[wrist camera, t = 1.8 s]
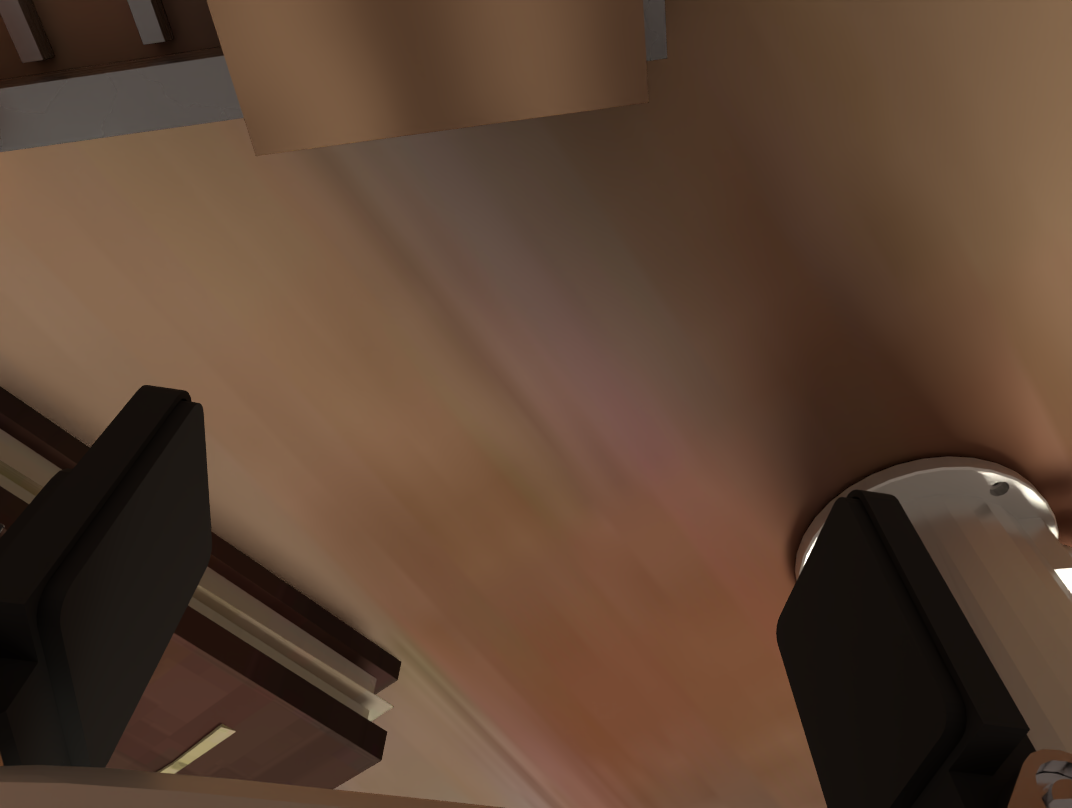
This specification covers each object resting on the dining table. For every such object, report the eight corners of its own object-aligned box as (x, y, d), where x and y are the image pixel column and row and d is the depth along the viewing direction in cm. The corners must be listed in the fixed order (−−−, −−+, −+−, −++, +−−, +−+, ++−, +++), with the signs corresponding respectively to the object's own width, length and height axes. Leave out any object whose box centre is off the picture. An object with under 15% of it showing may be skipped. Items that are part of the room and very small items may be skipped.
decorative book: (209, 909, 48) (-331, 656, 37) (249, 791, 55) (-200, 544, 43) (428, 787, 41) (-157, 425, 30) (445, 667, 48) (-31, 332, 36)
